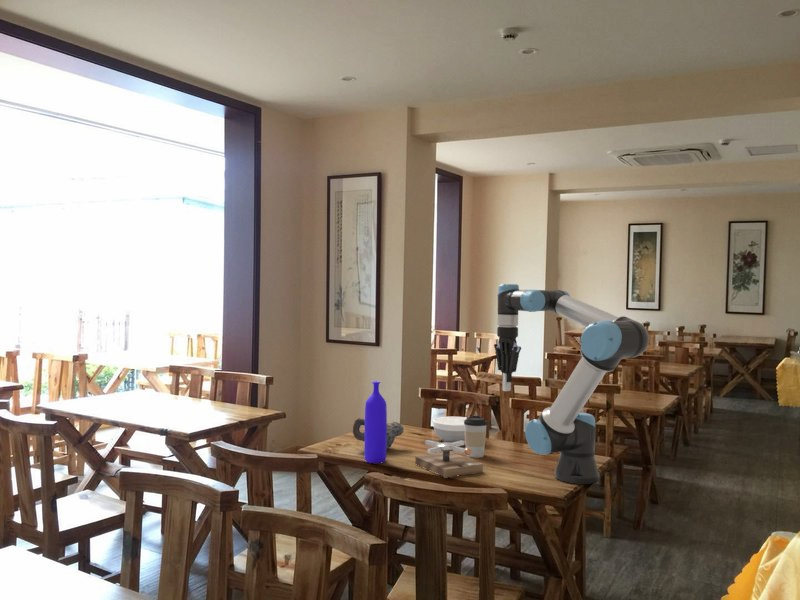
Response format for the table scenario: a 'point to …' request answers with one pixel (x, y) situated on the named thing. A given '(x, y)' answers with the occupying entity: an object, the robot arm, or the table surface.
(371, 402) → the bottle
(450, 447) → the capstan
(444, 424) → the bowl
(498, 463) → the table surface
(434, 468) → the level stand
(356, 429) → the teapot
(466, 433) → the coffee cup
